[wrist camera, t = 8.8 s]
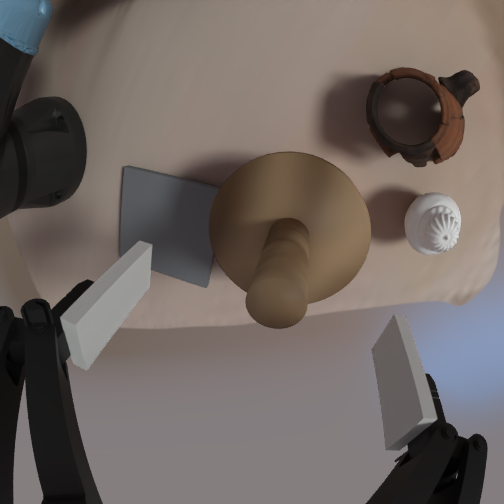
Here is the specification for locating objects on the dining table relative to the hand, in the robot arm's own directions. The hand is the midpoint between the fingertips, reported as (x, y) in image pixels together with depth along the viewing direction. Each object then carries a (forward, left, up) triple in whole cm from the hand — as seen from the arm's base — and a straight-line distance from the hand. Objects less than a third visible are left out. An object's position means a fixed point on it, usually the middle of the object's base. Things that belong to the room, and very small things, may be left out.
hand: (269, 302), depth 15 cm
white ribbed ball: (+13, +4, -17) cm, 22 cm away
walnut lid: (0, 0, -11) cm, 11 cm away
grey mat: (-13, -6, -17) cm, 22 cm away
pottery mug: (+9, +13, -17) cm, 24 cm away
